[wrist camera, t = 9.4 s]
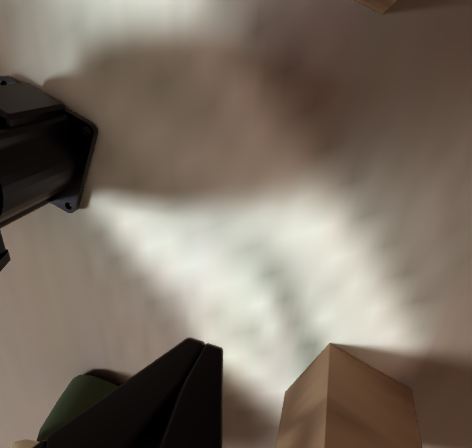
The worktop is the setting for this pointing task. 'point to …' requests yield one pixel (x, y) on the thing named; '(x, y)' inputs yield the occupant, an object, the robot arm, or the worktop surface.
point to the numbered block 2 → (377, 4)
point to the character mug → (71, 405)
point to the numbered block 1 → (347, 407)
